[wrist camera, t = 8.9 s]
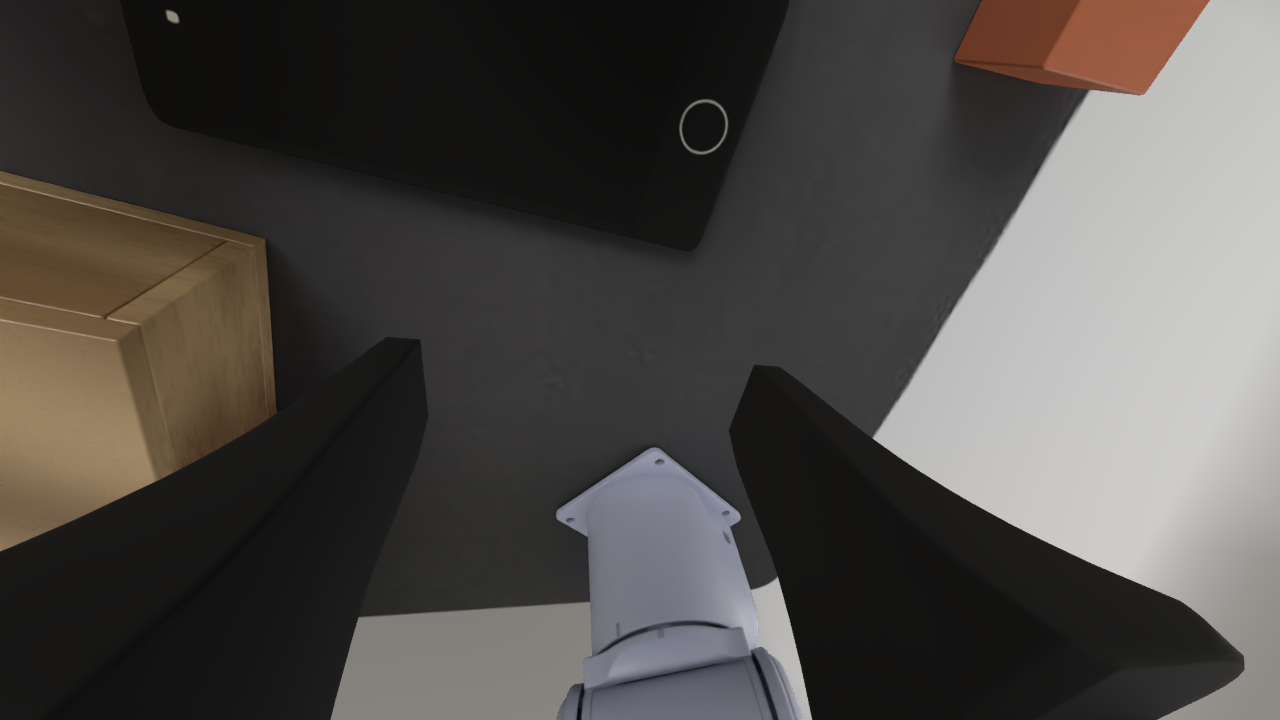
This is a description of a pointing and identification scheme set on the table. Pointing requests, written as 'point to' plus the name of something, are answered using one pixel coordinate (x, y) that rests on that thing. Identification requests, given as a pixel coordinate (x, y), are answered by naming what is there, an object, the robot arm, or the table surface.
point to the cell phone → (478, 95)
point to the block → (1078, 40)
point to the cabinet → (119, 349)
